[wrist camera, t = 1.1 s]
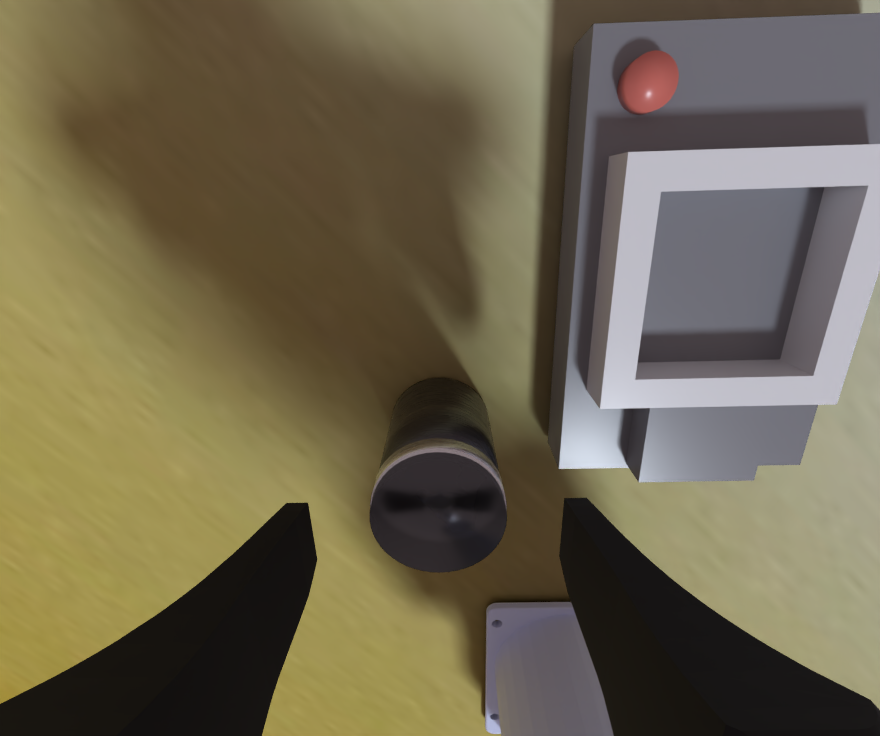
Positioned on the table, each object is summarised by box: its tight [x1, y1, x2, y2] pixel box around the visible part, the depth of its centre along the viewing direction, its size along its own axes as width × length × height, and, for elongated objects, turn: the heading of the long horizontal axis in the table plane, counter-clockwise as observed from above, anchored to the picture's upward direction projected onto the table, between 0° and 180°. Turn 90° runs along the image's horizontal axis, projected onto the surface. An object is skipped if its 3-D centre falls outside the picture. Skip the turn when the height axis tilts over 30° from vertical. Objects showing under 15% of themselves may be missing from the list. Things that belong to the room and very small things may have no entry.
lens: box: [370, 378, 507, 572], centre depth 16 cm, size 4×4×6 cm
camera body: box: [548, 13, 880, 482], centre depth 15 cm, size 14×9×4 cm, turn 1°
